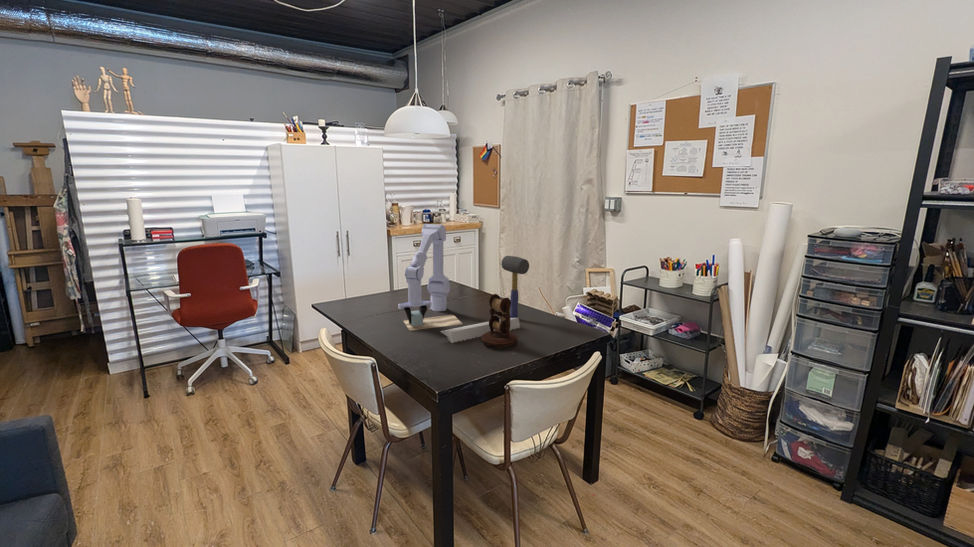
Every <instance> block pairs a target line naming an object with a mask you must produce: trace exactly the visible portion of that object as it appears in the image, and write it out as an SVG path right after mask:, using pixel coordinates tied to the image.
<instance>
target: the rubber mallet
mask: <svg viewBox="0 0 974 547" xmlns="http://www.w3.org/2000/svg"><path fill="white" fill-rule="evenodd" d="M501 268H502V269H503V270H505V271H507V272H510V273H511V275H512V276H511V290H510V298H509V299H510V301H511V306H510V318H519V311H518V310H519V308H518V307H519V306H518V305H519V290H518V280H519V279H518V278H519V277H518V274H520V275H525V274H526V273H528V271H529V269H530V262H529V261H528V260H527V259H526V258H522V257H521V256H520V257H519V256H513V255H506V256H504V257H503V258H502V260H501Z"/></svg>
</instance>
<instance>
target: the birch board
mask: <svg viewBox="0 0 974 547" xmlns="http://www.w3.org/2000/svg"><path fill="white" fill-rule="evenodd" d="M402 321H403V323H404V324H405V326H406V327H407V329H408V331H411V332H412V331H418V330H425V329H426V330H427V329H434V328H443V327H450V326H451V327H452V326H459V325H463V322H462V321H460V320H459V318H457V317H456V316H455V314H449V315H448V314H447V315H439V316H438V315H437V316H432V317H424V318H423V327H414V328H413V327H412V326H411V324H409V321H408V319H404V320H403V319H402Z"/></svg>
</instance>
